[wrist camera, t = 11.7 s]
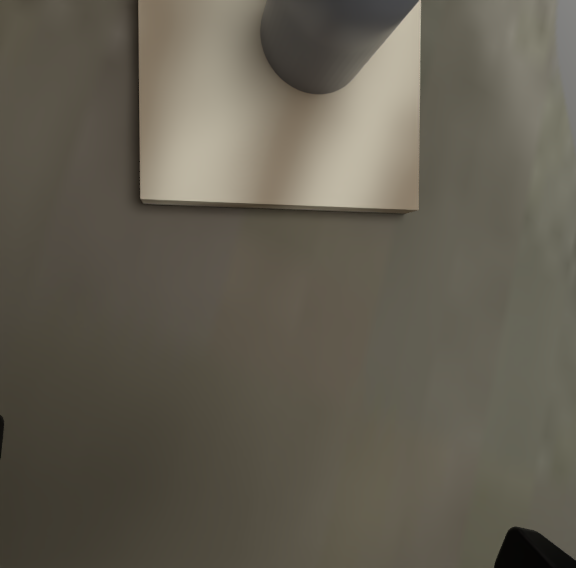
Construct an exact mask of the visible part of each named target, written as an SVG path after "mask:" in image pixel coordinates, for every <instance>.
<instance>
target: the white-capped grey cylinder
mask: <svg viewBox="0 0 576 568" xmlns="http://www.w3.org/2000/svg"><path fill="white" fill-rule="evenodd" d="M418 1H419V0H267V1H266V5H265V8H264V12H263V15H262V20H261V27H260V37H261V43H262V47H263V51H264V54H265V56H266V58H267V60H268V62H269V64H270V66H271V67H272V69H273V70H274V71H275V73H276V74H277V75H278V76H279V77H280V78H281V79H282V80H284V81H285V82H286V83H287V84H289V85H290V86H292V87H294V88H296V89H298V90H300V91H303V92H306V93H311V94H327V93H332V92H335V91H337V90H339V89H341V88H343V87H345V86H346V85H347V84H348V83H350V82H351V80H352V79H353V78H354V77H355V76H356V75H357V74H358V72H359V71H360V70H361V69H362V68H363V67H364V65H365V64H366V63H367V62H368V61H369V59H370V58H371V57H372V56H373V55H374V54H375V52H376V51H377V50H378V49H379V48H380V46H381V45H382V44H383V43H384V42H385V41H386V39H387V38H388V37H389V36H390V35H391V33H392V32H393V31H394V30H395V29H396V28H397V26H398V25H399V24H400V23H401V22H402V20H403V19H404V18H405V17H406V16H407V15H408V13H409V12H410V11H411V10H412V9H413V7H414V6H415V5H416V4H417V3H418Z"/></svg>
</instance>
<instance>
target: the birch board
mask: <svg viewBox="0 0 576 568" xmlns="http://www.w3.org/2000/svg"><path fill="white" fill-rule="evenodd" d="M266 1H267V0H138V19H139V119H140V199H141V201H142V202H143V204H161V205H188V206H215V207H242V208H269V209H296V210H323V211H350V212H377V213H404V214H405V213H409V212H413V211H417V210H419V125H420V37H421V0H419V1H418V3H417V4H416V5H415V6H414V7H413V9H412V10H411V11H410V12H409V13H408V15H407V16H406V17H405V18H404V19H403V20H402V22H401V23H400V24H399V25H398V26H397V28H396V29H395V30H394V31H393V32H392V33H391V35H390V36H389V37H388V38H387V39H386V41H385V42H384V43H383V44H382V45H381V46H380V48H379V49H378V50H377V51H376V52H375V54H374V55H373V56H372V57H371V58H370V59H369V61H368V62H367V63H366V64H365V65H364V67H363V68H362V69H361V70H360V71H359V72H358V74H357V75H356V76H355V77H354V78H353V79H352V80H351V82H350V83H348V84H347V85H346V86H345V87H343V88H341V89H339V90H337V91H335V92H332V93H327V94H311V93H306V92H303V91H300V90H298V89H296V88H294V87H292V86H290V85H289V84H287V83H286V82H285V81H284V80H282V79H281V78H280V77H279V76H278V75H277V74H276V73H275V71H274V70H273V69H272V67H271V66H270V64H269V62H268V60H267V58H266V56H265V54H264V51H263V47H262V43H261V37H260V27H261V20H262V15H263V12H264V8H265V5H266Z"/></svg>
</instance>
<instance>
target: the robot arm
mask: <svg viewBox="0 0 576 568" xmlns="http://www.w3.org/2000/svg"><path fill="white" fill-rule="evenodd" d="M3 431H4V419H3V417H2V416H1V415H0V458H1V451H2V441H3ZM494 568H576V560H574V559H573V558H572V557H570V556H569V555H568V554H566V553H565V552H564V551H562V550H561V549H560V548H558V547H557V546H556V545H554V544H553V543H552V542H550V541H549V540H548V539H547V538H545V537H544V536H543V535H541V534H540V533H538V532H536V531H534V530H530V529H525V528H520V527H512V528H510V529H509V530H508V532H507V534H506V536H505V539H504V541H503V544H502V546H501V549H500V551H499V554H498V556H497V558H496V561H495V565H494Z"/></svg>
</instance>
